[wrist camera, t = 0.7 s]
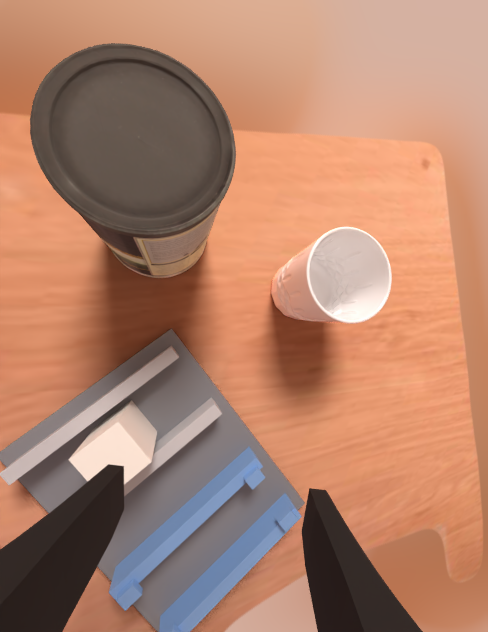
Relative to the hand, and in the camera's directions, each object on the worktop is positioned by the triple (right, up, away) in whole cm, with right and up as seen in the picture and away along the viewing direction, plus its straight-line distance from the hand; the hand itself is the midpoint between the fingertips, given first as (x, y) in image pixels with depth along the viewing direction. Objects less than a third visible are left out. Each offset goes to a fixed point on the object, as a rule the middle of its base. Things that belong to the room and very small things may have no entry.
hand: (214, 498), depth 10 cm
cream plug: (-10, -4, +15) cm, 19 cm away
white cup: (+7, +10, +21) cm, 25 cm away
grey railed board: (-6, -9, +17) cm, 20 cm away
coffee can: (-8, +16, +18) cm, 25 cm away
